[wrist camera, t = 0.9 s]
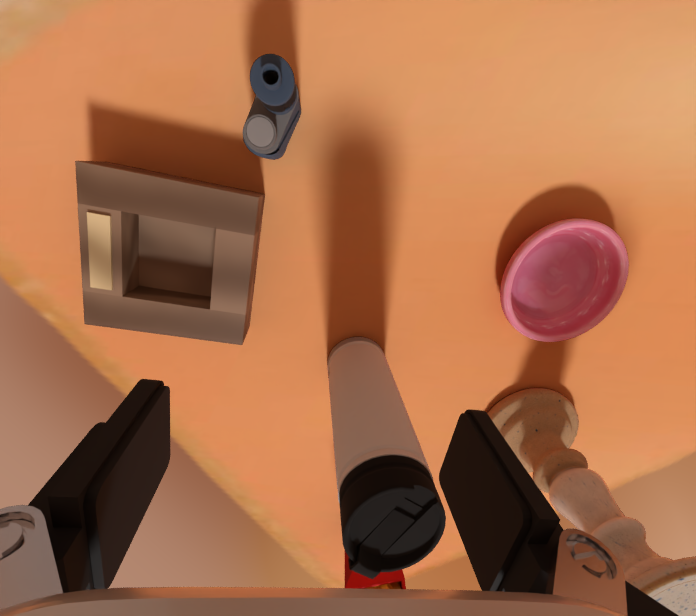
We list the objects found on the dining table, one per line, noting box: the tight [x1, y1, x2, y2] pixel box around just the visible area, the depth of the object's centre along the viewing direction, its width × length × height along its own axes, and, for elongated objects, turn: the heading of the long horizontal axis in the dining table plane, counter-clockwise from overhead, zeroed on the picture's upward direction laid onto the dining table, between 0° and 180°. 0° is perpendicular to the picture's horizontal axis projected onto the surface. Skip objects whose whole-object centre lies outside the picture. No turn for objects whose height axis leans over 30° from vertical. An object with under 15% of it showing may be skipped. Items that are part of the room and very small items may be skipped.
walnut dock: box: [75, 161, 265, 345], centre depth 31 cm, size 13×13×4 cm
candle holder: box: [487, 388, 696, 616], centre depth 35 cm, size 12×12×20 cm
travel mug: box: [327, 337, 446, 579], centre depth 29 cm, size 6×7×20 cm
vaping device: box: [243, 54, 301, 160], centre depth 24 cm, size 3×5×12 cm, turn 151°
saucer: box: [500, 218, 629, 342], centre depth 36 cm, size 12×12×3 cm
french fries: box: [345, 552, 406, 589], centre depth 40 cm, size 9×8×15 cm
